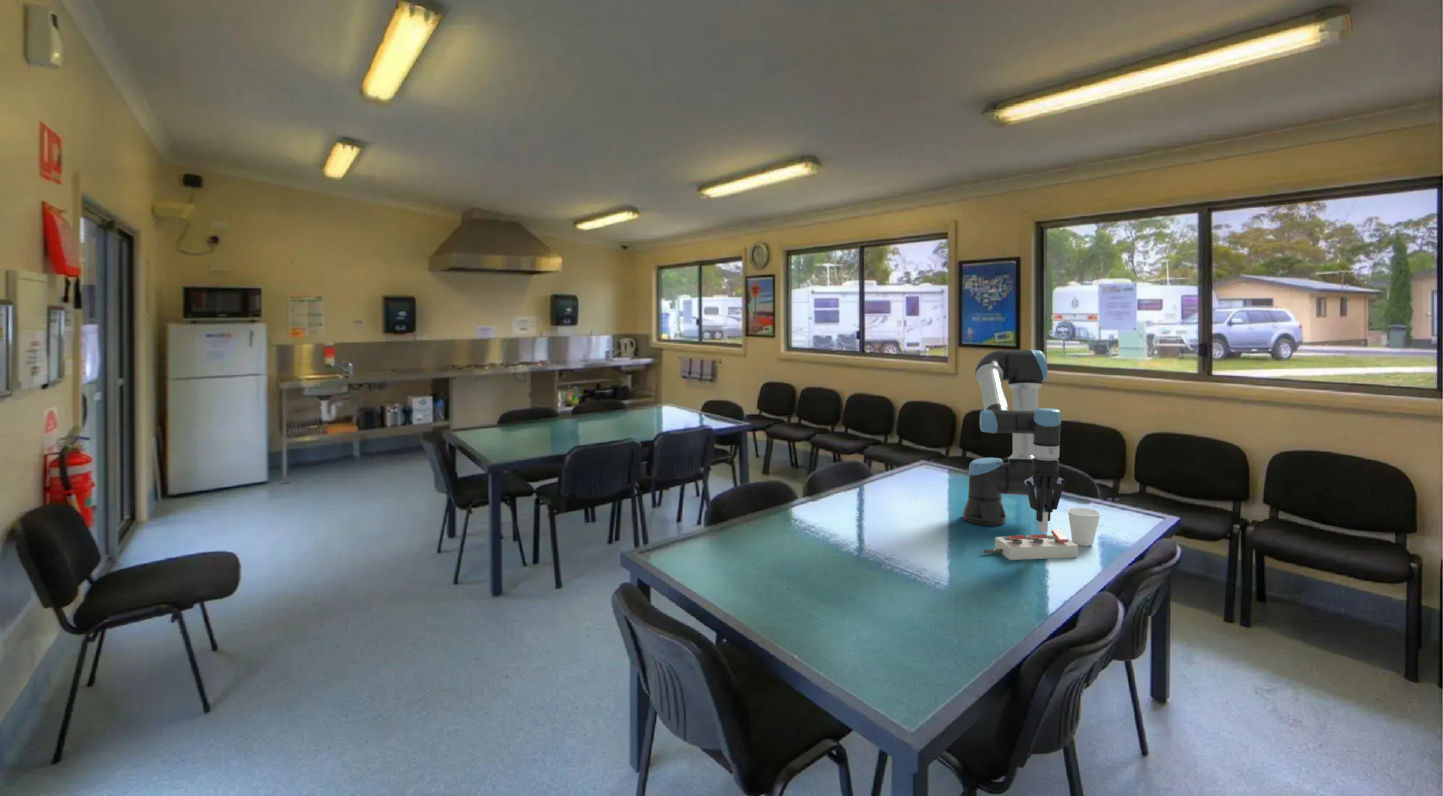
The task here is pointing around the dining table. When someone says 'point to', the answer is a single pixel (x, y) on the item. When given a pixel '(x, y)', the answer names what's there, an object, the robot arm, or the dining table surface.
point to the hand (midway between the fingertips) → (1042, 530)
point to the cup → (1083, 525)
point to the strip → (1034, 548)
